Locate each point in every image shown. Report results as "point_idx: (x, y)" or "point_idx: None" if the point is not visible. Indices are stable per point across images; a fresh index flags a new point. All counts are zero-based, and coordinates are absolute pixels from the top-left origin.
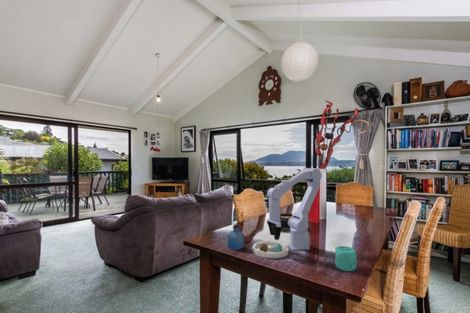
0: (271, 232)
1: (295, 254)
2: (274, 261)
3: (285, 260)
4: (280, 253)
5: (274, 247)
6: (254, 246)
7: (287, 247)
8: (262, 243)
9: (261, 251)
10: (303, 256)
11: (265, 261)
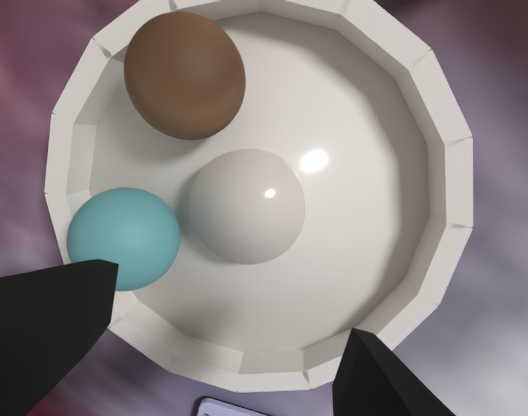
0: (361, 374)
1: (119, 356)
2: (25, 107)
3: (26, 211)
4: (55, 210)
5: (105, 194)
6: (334, 6)
7: (164, 358)
8: (437, 198)
9: (137, 19)
10: (68, 383)
11: (41, 20)
